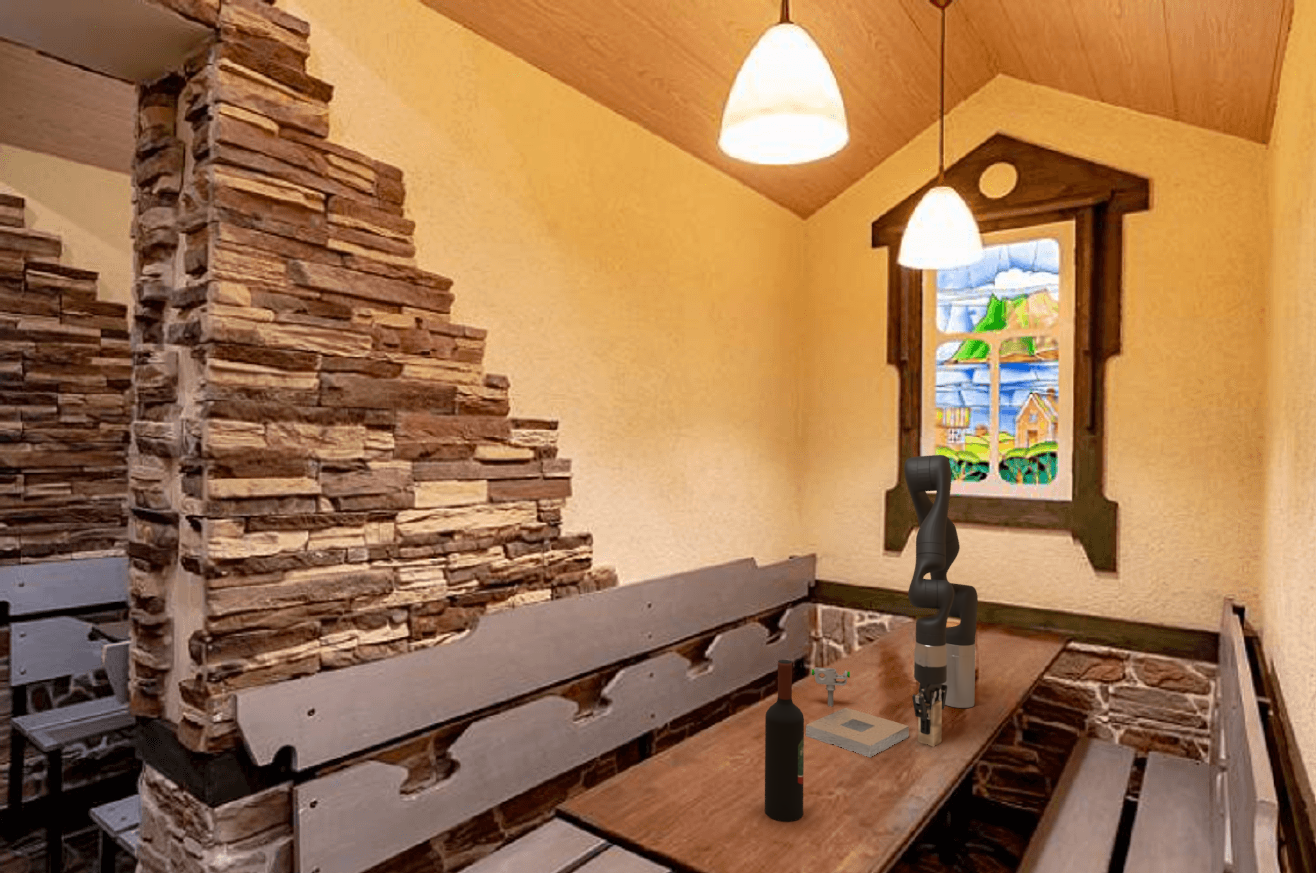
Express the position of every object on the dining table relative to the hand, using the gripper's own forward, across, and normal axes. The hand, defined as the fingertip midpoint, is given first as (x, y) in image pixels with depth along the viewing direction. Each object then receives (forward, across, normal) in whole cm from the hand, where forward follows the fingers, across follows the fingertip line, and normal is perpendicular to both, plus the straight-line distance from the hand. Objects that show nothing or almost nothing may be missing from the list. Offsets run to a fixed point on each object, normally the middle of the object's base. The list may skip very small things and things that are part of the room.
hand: (929, 730), depth 193 cm
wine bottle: (+3, +55, -3) cm, 55 cm away
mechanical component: (+3, -4, -31) cm, 31 cm away
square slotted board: (+3, +10, -14) cm, 17 cm away
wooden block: (+3, 0, 0) cm, 3 cm away
